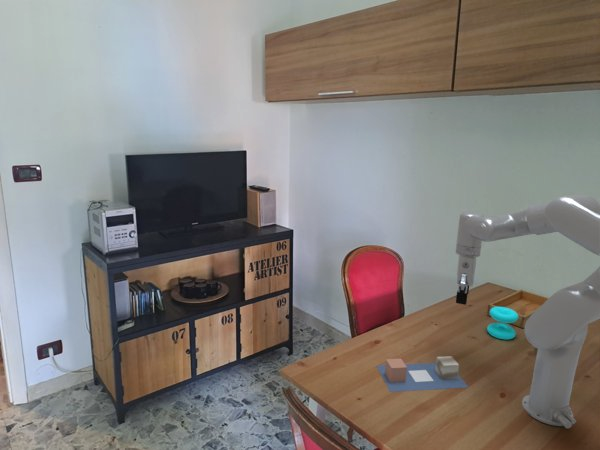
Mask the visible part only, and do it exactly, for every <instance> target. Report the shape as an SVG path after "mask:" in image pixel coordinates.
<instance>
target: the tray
mask: <svg viewBox="0 0 600 450" xmlns="http://www.w3.org/2000/svg"><path fill="white" fill-rule="evenodd" d="M549 298H550V297H546V296H544V295H540V294H536V293H534V292H530V291H527V290H523V289H519V290H517V291H515V292H513V293H511V294H508V295H505V296H504V297H502V298H501V297H500V298H498V299H497V300H495V301H492V302H491V303H488V304H487V305H488V306H487V311H486V315H487V316H489V317H491V315H490V310H491V309H492V308H493V307H505V308H509V309H512V310H513V311H515V312H516V313H517V314H518V320H517V321H515V322H513V323H509V324H511V325H514V326H516V327H519V328H521V329H525V324H526V322H527V320H528V318H529V317H530V316H531V315H532V314H533V313H534V312H535V311H536V310H537V309H538V308H539V307H540V306H541V305H542V304H544V303H545V302H546V301H547V300H548V299H549Z"/></svg>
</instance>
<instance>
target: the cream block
mask: <svg viewBox="0 0 600 450" xmlns="http://www.w3.org/2000/svg"><path fill="white" fill-rule="evenodd" d="M435 363H436V368H435V371H436V372H437V374H438V375H439V376H440V378H441V379H442V380H446V379H457V376H458V375H459V369H460V365H459V363H458V361H457V360H456V359H455V358H454V357H453V356H452V355H451V356H450V355H448V356H436V361H435Z"/></svg>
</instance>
